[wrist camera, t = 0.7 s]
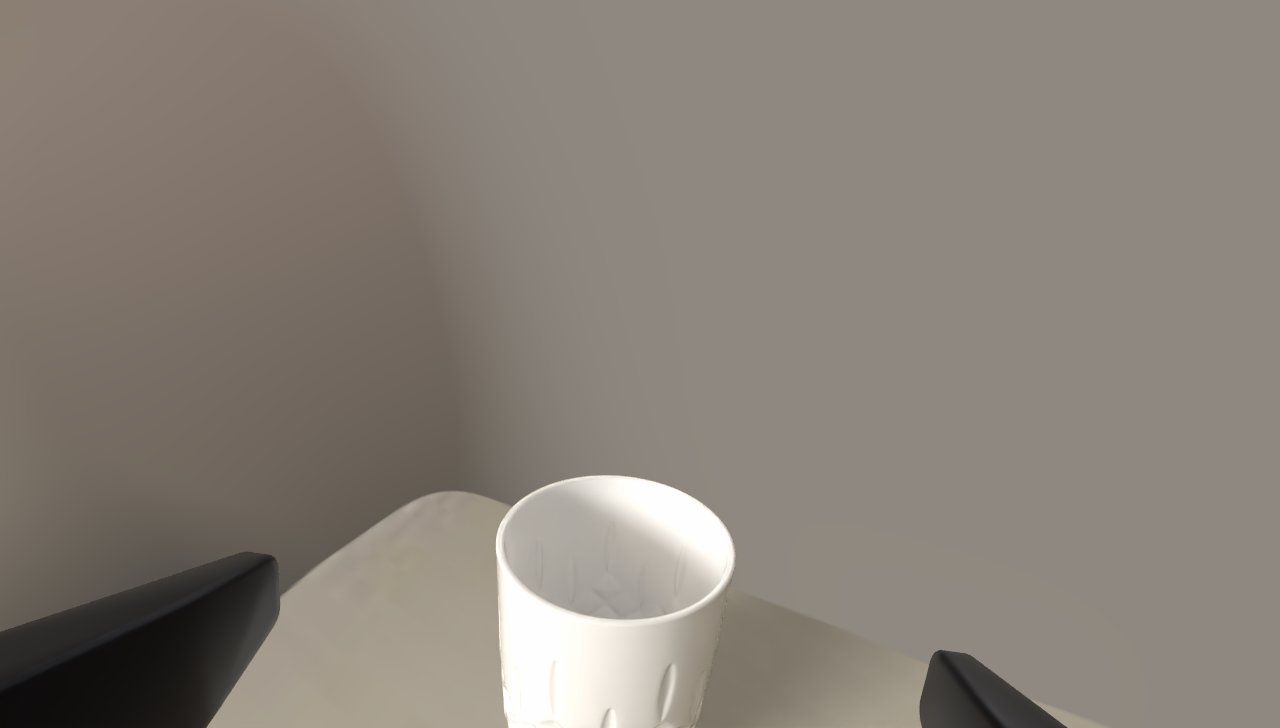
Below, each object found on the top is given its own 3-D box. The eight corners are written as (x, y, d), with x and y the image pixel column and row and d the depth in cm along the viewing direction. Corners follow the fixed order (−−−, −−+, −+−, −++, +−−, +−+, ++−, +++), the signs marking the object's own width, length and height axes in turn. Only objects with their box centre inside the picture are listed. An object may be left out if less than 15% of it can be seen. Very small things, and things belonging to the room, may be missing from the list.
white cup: (585, 641, 29) (599, 453, 26) (734, 739, 25) (775, 532, 22) (448, 763, 23) (442, 540, 20) (615, 919, 19) (645, 672, 16)
